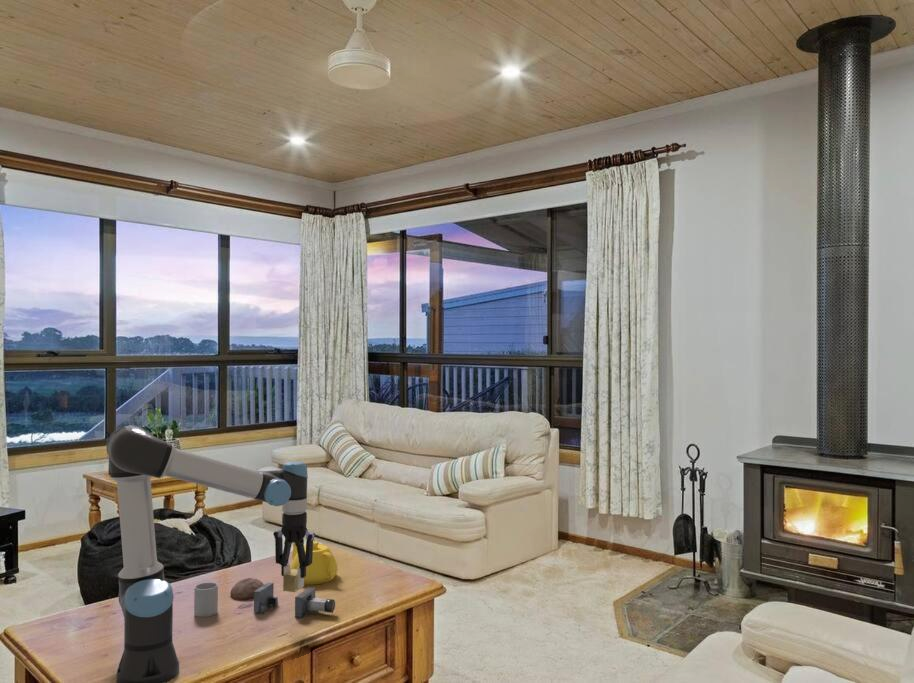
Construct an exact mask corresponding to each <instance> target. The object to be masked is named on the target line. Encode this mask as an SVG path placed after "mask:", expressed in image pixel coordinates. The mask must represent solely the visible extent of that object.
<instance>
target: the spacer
mask: <svg viewBox="0 0 914 683" xmlns="http://www.w3.org/2000/svg"><path fill="white" fill-rule="evenodd" d="M282 577H283V582H282V584H283V585H282V588H283V589H282V591H283V592H287V593H288V592H290V593H296V592H297V591H299V590H300V589H297V569H292V570H290V571H289V572H287V573H285V574H284V575H283V576H282Z"/></svg>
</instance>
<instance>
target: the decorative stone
mask: <svg viewBox="0 0 914 683" xmlns="http://www.w3.org/2000/svg"><path fill="white" fill-rule="evenodd" d="M263 585H265V584H264V583H263V581H261V580H260V579H258V578H253V577H248V578H247V577H246V578H242V579H240V580H239V581H238V582H236V583H235V584H234V585H233V586H232V588H231V589H230V593H229V594H230V597H231V598H232V599H233V600H237V601H247V600H248V601H249V600H254V591H255V590H257V589H259V588H260V587H262V586H263Z"/></svg>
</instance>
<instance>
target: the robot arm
mask: <svg viewBox="0 0 914 683" xmlns="http://www.w3.org/2000/svg"><path fill="white" fill-rule="evenodd" d="M106 453H107V455H108V465H109V466H108V467H109V478H110V479H111V480H113V481H114V482H116V489H117V499H118V500H117V501H118V502H117V503H118V512H119V525H120V538H121V549H122V560H123V561H122V562H123V563H122V564H123V568H121V570H120V571H119V572H118V573H117V574H118V575H117V576H118V586H119V588H118V597H117V598H118V603H119V605H120V607H121V611H122V614H123V619H124V620H123V621H124V628H123V629H124V630H123V631H124V633H123V634H124V638H123V639H124V640H123V641H124V646H123V652H122V656H121V658H120V660H119V664H118V668H117V669H116V683H167V682H169V681H171V680H172V679H174V678H175V677H177V675H178V674H179V672H180V660H179V658H178V656H177V653H176V649H175V646H174V643H173V624H174V623H173V622H174V621H173V618H174V617H173V614H174V613H173V609H174V608H173V607H174V605H173V604H174V603H173V602H174V597H175V596H174V595H175V594H174V592H173V591H174V590H173V587H172V585H171V583H170V582H168V581H166V580H165V573H164V572H165V570H164V569H165V568H164V565H163V564H162V563H161V562H159V561H158V557H157V556H158V555H157V544H156V532H155V520H154V519H155V517H154V505H153V495H152V494H153V492H152V491H153V490H152V482H151V481H152V480H151V478H152V477H153V478H157V479H162V478H164V477H169V478H173V479H176V480H180V481H185V482H188V483H191V484H196V485H200V486H203V487H207V488H210V489H215V490H218V491H223V492H226V493H231V494H234V495H237V496H241V497H246V498H250V499H253V500H256V501H260V502H263V503H267V504H268V505H270V506H273V507H280V506H282V508H281V509H282V510H281V511H282V515H281V520H282V521H281V523H282V524H281V525H282V526H281V528H280V529H279V530H276V531H274V532H273V537H274V541H275V542H274V545H275V556H274V557H275V564H279V565H280V567H281V576H282V577H283V575H284V574H285V573H287V572H289V571H290V567H291V563H290V561H289V560H290V554H291V549H292V546H293V542H294V543H295V545H296V547H297V552H298V558H299V564H300V566H299V567H298V568H297V589H299V590H302V588H303V587H305V584H304V577H306V566H309V565H310V564H312V556H313V541H314V540H315V537H316V533H315V532H310V531H309V530H308V528H307V523H308V521H307V519H308V516H307V515H308V514H307V510H308V509H307V508H308V477H309V476H308V466H307V464H306V463H305V462H303V461H289V462H283V464H282V469H277V470H276V469H275V470H263V471H262V470H260V471H258V470H257V471H255V470H251V469H248V468H244V467H242V466H238V465H235V464H231V463H227V462H223V461H220V460H217V459H214V458H210V457H206V456H202V455H199V454H195V453H192V452H189V451H185V450H183V449H179V448H176V447H175V445H174V443H171V442H169V441H164V440H162V439H159V437H156V436H154V435H152V434H151V433H150V432H149V431H148V430H147V429H146V428H145V427H143V426H140V425H137V424H136V425H135V424H133V425H124V426H121V427H119V428H118V429H115V431H113V432H112V433H111V434H110V436H109V438H108V439H107V441H106ZM283 537H284V541H283ZM304 538H305V540H304ZM305 541H306V542H305ZM283 542H284V543H283ZM283 544H284V545H283ZM304 544H305V545H304ZM304 546H306V555H305V549H304ZM289 563H290V564H289Z"/></svg>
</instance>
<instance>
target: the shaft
mask: <svg viewBox="0 0 914 683" xmlns="http://www.w3.org/2000/svg"><path fill="white" fill-rule="evenodd" d="M335 609H336V600H335V599H333V598H332V599H330V598H321V597H315V598H311V597H307V598H306V610H312V611H311V612H313V611H314V612H322V613H323V612H324V613H331V614H333V612H334V611H335Z"/></svg>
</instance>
